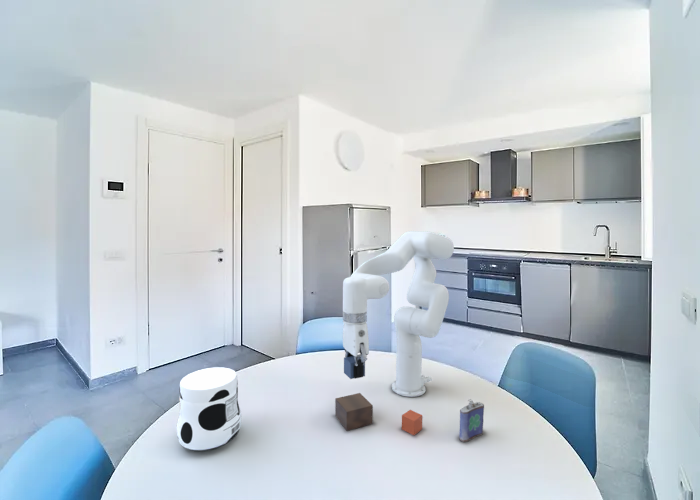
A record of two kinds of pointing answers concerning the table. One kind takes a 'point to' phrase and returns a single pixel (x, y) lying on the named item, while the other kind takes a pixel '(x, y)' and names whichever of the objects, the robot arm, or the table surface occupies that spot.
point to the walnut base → (353, 411)
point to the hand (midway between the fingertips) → (354, 373)
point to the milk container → (208, 409)
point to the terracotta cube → (412, 422)
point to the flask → (471, 421)
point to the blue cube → (350, 366)
